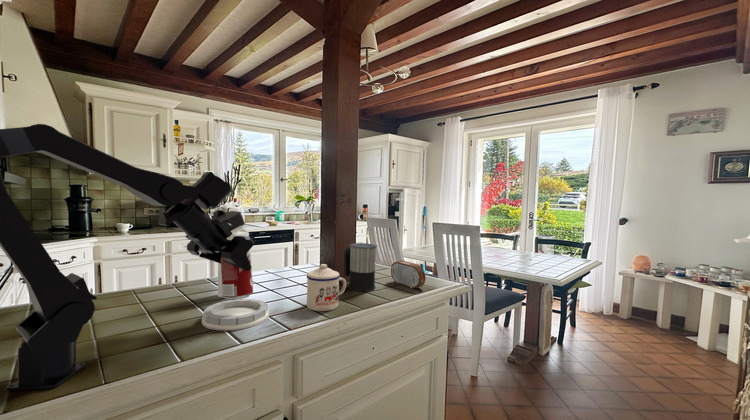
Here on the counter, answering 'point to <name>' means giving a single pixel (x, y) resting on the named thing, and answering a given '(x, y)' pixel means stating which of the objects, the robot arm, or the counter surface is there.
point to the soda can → (236, 281)
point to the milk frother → (360, 266)
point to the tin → (408, 274)
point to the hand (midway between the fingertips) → (241, 267)
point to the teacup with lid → (323, 289)
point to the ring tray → (235, 314)
